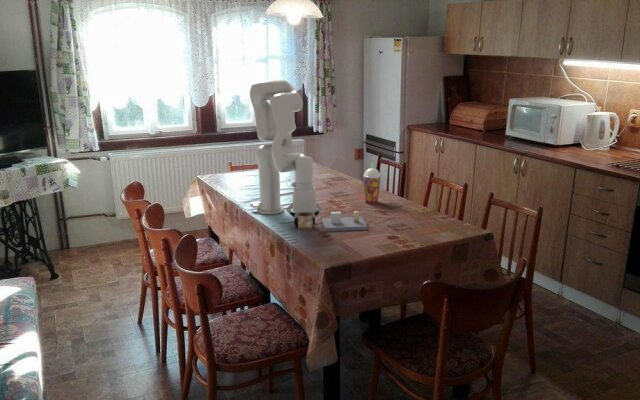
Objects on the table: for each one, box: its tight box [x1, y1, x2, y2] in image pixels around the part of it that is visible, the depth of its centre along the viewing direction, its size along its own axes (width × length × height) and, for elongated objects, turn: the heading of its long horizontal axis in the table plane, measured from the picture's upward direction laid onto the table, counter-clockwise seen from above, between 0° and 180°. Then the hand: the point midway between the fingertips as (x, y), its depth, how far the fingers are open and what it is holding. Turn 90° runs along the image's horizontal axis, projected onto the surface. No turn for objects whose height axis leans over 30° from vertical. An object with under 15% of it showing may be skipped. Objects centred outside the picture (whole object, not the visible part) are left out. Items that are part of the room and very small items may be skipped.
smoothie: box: [363, 162, 381, 205], centre depth 263 cm, size 8×8×20 cm
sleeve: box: [297, 213, 314, 231], centre depth 230 cm, size 6×8×6 cm
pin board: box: [320, 210, 368, 232], centre depth 232 cm, size 18×13×6 cm
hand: (304, 225), depth 231 cm, fingers closed on sleeve, 6 cm apart
